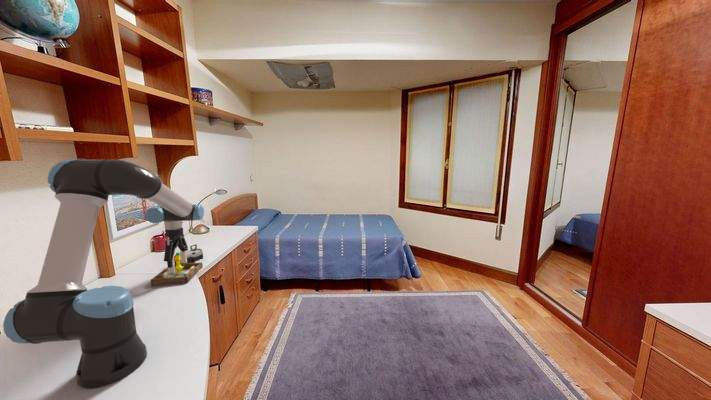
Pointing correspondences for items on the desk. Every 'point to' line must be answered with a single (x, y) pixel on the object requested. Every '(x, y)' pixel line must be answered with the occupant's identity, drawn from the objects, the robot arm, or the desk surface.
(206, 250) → the desk surface
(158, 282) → the walled box
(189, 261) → the camera
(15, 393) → the desk surface
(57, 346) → the desk surface
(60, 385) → the desk surface
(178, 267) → the toy figure
